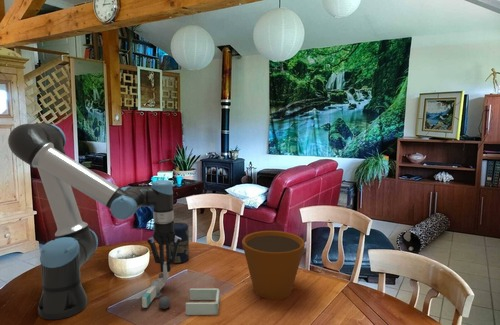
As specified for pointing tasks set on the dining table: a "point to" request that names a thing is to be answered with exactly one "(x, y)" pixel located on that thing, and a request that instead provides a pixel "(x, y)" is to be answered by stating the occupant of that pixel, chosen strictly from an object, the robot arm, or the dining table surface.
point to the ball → (164, 302)
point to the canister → (181, 242)
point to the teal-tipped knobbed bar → (153, 291)
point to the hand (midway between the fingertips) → (166, 279)
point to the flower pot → (273, 261)
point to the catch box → (203, 307)
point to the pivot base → (158, 296)
